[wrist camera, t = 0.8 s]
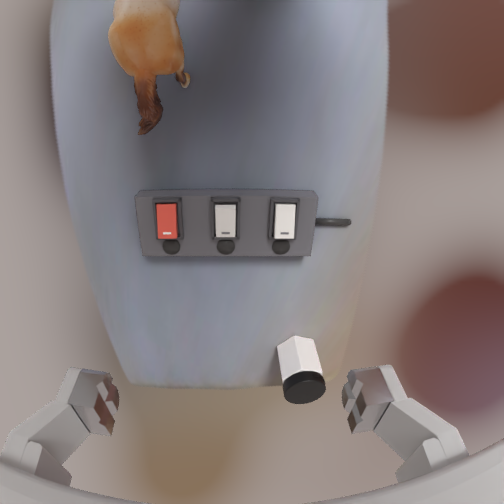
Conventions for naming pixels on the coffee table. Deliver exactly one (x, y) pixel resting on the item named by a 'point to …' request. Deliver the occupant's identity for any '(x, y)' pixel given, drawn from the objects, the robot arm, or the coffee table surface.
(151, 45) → the horse figurine
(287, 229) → the grey rocker end
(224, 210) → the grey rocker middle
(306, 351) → the jar
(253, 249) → the grey switch panel
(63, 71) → the coffee table surface
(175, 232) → the red rocker
